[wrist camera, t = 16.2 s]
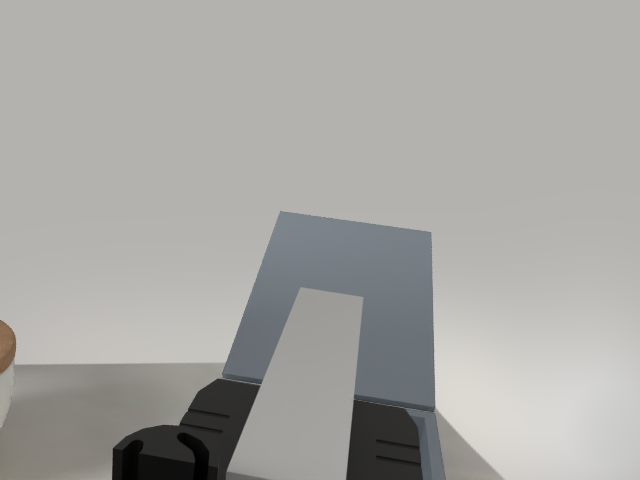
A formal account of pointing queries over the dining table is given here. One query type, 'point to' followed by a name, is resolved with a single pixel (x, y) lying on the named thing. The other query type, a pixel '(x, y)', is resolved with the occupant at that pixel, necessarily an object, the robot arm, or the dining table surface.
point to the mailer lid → (352, 279)
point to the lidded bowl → (6, 368)
